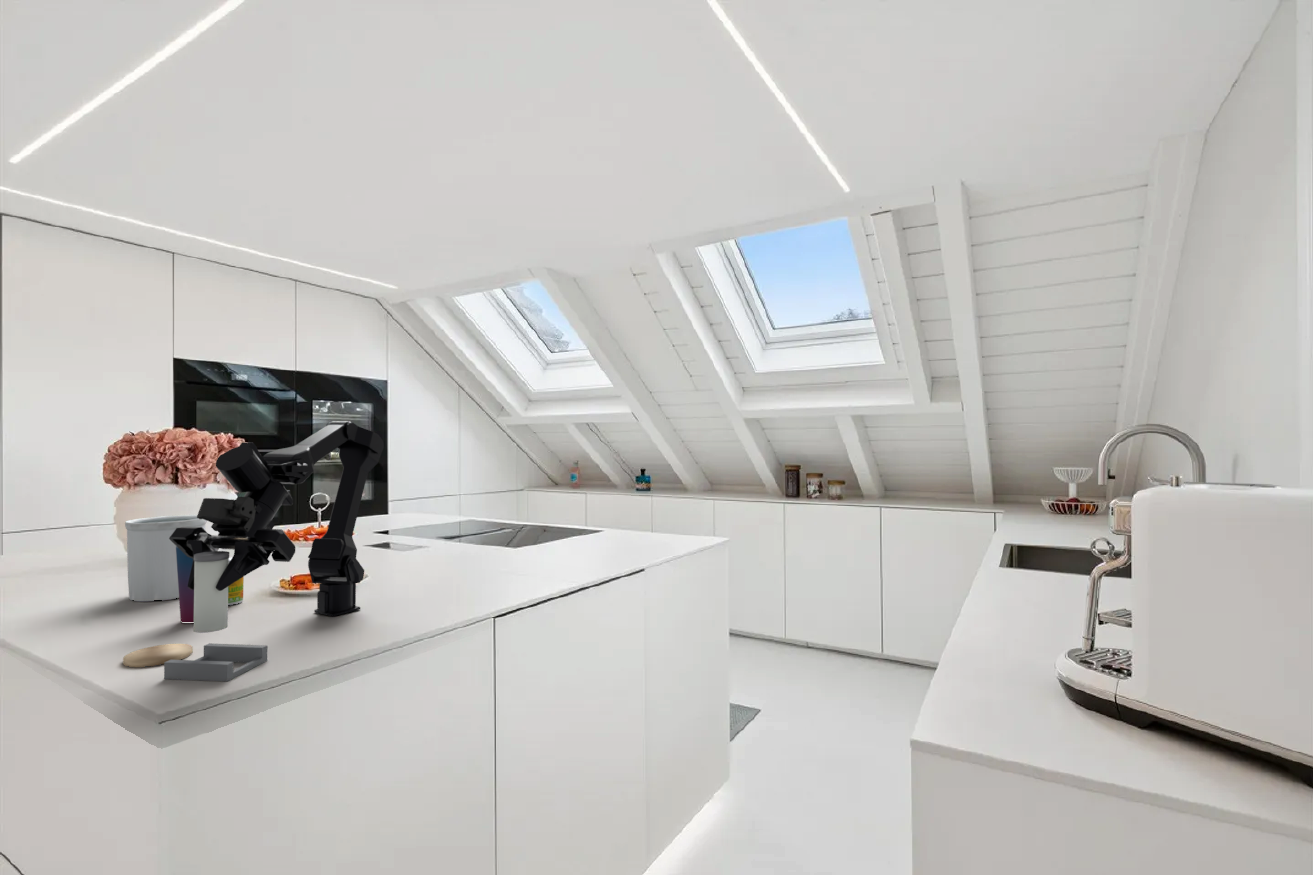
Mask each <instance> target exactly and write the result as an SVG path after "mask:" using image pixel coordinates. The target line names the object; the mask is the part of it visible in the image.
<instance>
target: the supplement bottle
mask: <svg viewBox="0 0 1313 875" xmlns="http://www.w3.org/2000/svg"><path fill="white" fill-rule="evenodd" d="M232 557H233V556H231V557H229V562H230V561H231V559H232ZM244 577H245V576H244ZM244 577H242V578H240V579H239V580H237V581H236V582H234V583H233V584H231V585H230V586H228V605H230V606H234V605H233V604H236V605H238V603H239V604H241V603H243V602H244ZM242 601H243V602H242Z"/></svg>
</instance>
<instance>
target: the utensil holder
mask: <svg viewBox="0 0 1313 875" xmlns="http://www.w3.org/2000/svg"><path fill="white" fill-rule="evenodd" d="M197 515H198V514H178V515H176V514H175V515H163V516H152V517H143V518H134V519H129V520H126V521H125V523H124V527H125V529H126V551H127V552H126V553H127V554H126V555H127V556H126V557H127V558H126V559H127V561H126V562H127V584H128V585H127V586H128V598H129V600H130V601H132V600H134V601H133V602H155V601H154V600H162V601H170V600H174V599H176V598H177V599H179V588H178V573H177V557H176V545H175V544H174V543H173V542H172V541H171V540H170V539H169V538H170V536H171V535H172V534H173V532H174V531H175V530H176V528H179V527H202V528H203V529H204V530H205V531H206V523H207V520H204V519H198V518H197Z"/></svg>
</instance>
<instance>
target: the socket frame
mask: <svg viewBox="0 0 1313 875" xmlns="http://www.w3.org/2000/svg"><path fill="white" fill-rule="evenodd" d="M267 661H268V645H266V644H265V645H264V644H244V643H243V644H239V643H237V644H236V643H210V642H209V643H207V644H205V645H203V656H201V657H199V658H196V659H194V660H193V659H191V660H190V659H189V660H188V659H182V660H169V661H166V662H164V664H163V665H164V667H163V668H164V669H163V671H164V672H163V673H164V674H163V676H164V677H163V679H164V680H180V679H181V680H182V681H183V680H184V681H185V680H187V681H205V682H206V681H207V682H208V681H209V682H210V681H212V682H213V681H214V682H229V681H230V680H232V679H234V678H237V677H238V676H240V675H242V674H244V673H246V672H248V671H249V670H252V669H254V668H256V667H258V666H259V665H262V664H263V663H265V662H267ZM234 663H244V664H242V665H241V666H239V667H236V668H235V669H234Z"/></svg>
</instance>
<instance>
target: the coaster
mask: <svg viewBox="0 0 1313 875" xmlns="http://www.w3.org/2000/svg"><path fill="white" fill-rule="evenodd" d="M191 653H192V654H193V646H192V645H191V644H187V643H168V644H167V643H165V644H159V645H153V646H148V647H144V648H140V649H137V650H134V651H132V652H129V653H127V654H125V655H124V656H123V658H122V664H123V665H124V666H125V667H127V666H129V668H146V667H145V666H151V667H156V666H155V665H158V666H161V665H160V664H163V665H164V662H166V661H169V660H181V659H182V660H185V659H186V658H188V657H190V656H191V655H192V654H191ZM190 654H191V655H190ZM189 655H190V656H189Z"/></svg>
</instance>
